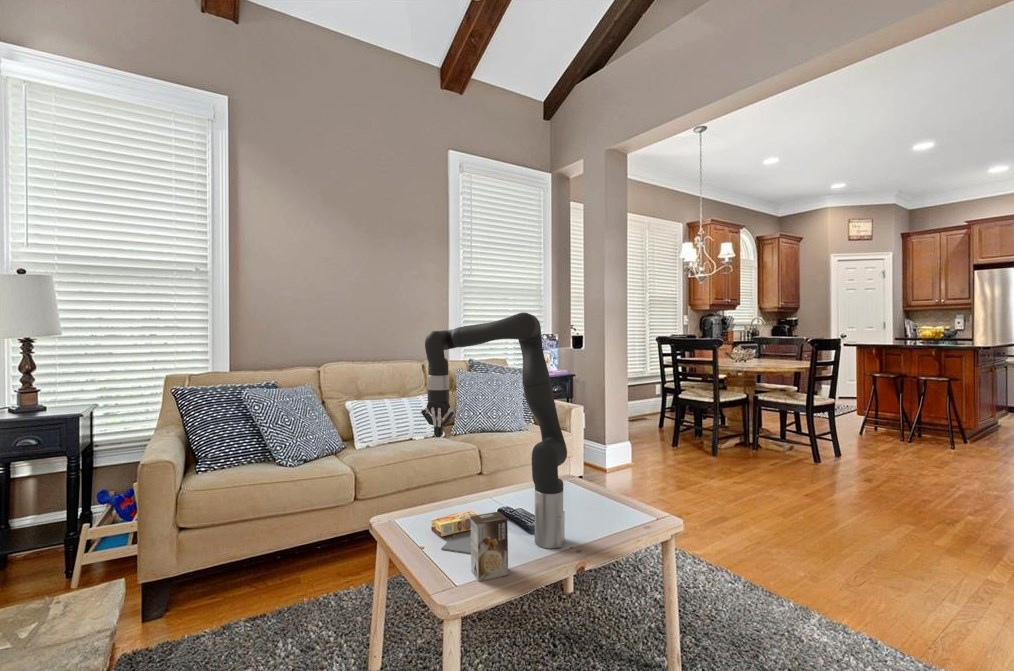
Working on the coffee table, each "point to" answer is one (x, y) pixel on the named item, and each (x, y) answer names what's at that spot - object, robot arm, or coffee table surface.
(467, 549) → the mat
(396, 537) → the coffee table surface
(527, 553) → the coffee table surface
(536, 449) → the robot arm
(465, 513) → the candy box
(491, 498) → the coffee table surface
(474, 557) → the coffee box
